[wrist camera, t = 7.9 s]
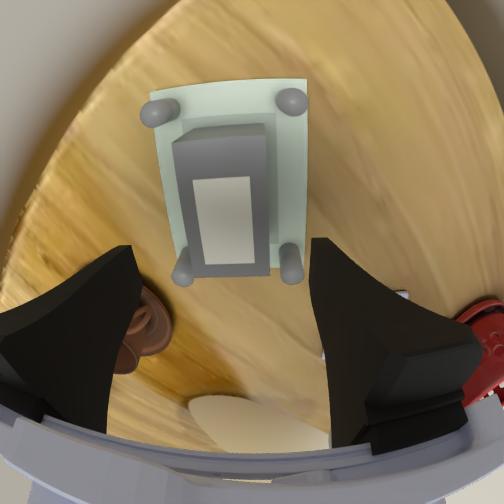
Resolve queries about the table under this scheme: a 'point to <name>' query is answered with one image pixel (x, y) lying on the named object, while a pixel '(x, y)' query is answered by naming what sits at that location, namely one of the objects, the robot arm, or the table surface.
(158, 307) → the cup and saucer
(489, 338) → the plant pot
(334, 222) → the table surface
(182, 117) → the tray
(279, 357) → the table surface
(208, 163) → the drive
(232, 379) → the table surface
